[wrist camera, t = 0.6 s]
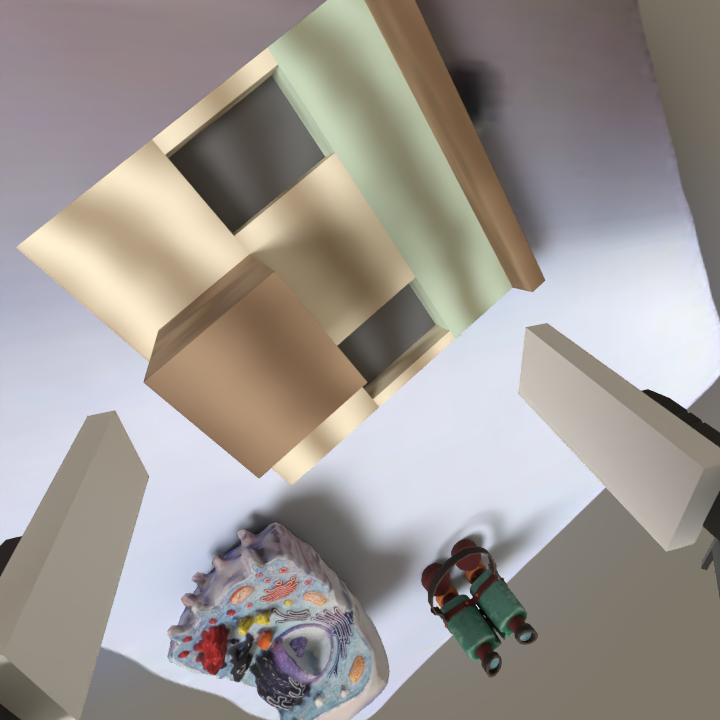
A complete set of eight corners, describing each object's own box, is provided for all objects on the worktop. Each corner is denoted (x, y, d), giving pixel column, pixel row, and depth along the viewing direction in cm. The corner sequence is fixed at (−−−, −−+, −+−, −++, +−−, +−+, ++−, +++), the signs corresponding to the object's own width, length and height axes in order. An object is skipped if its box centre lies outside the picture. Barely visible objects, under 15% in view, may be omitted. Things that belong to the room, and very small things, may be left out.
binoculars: (518, 580, 40) (554, 638, 44) (460, 517, 50) (493, 569, 54) (445, 642, 39) (487, 697, 43) (400, 566, 49) (438, 615, 53)
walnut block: (240, 406, 32) (259, 478, 23) (158, 330, 28) (143, 382, 20) (319, 337, 33) (367, 382, 24) (249, 254, 29) (274, 271, 20)
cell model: (329, 778, 37) (133, 719, 29) (303, 663, 47) (150, 593, 38) (431, 670, 38) (268, 579, 29) (385, 578, 47) (252, 489, 39)
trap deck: (284, 466, 39) (298, 503, 34) (33, 243, 27) (-2, 250, 22) (502, 272, 41) (545, 280, 36) (355, -13, 29) (387, -58, 24)
